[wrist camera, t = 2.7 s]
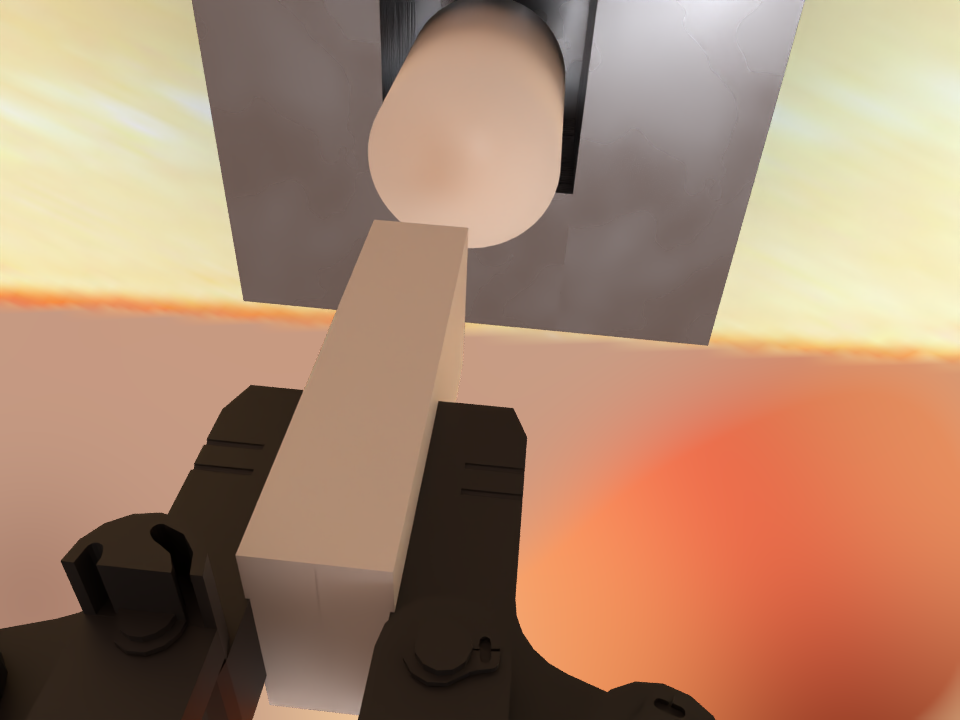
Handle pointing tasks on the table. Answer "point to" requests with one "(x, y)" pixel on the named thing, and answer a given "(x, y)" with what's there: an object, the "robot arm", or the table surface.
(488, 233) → the cream rounded knob
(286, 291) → the panel
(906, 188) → the table surface
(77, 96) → the table surface
